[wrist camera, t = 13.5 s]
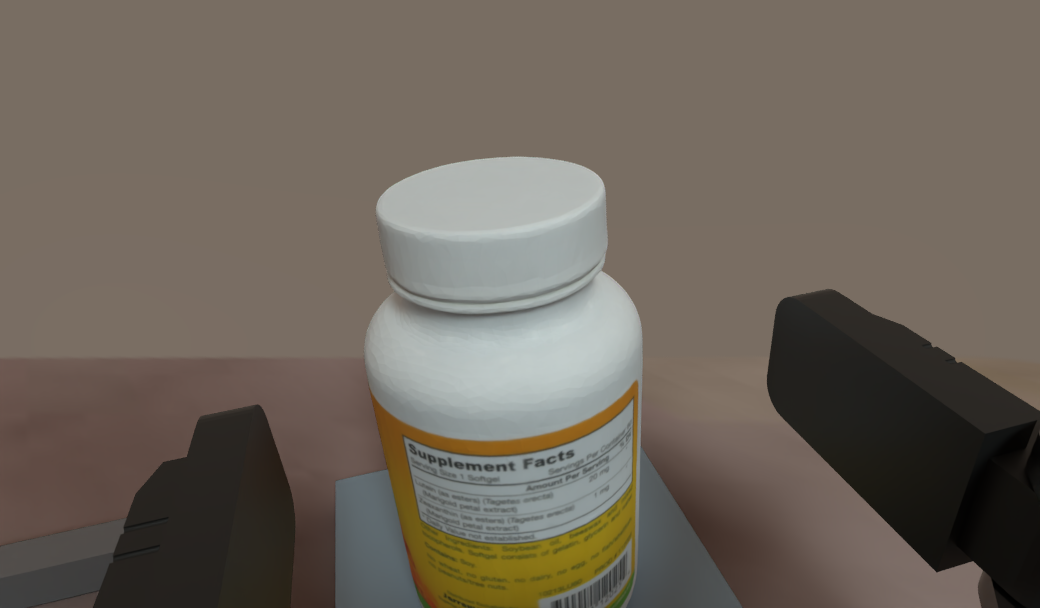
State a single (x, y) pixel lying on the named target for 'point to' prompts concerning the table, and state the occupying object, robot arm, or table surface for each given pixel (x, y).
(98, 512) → the table surface
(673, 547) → the board
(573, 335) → the supplement bottle
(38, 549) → the collar
